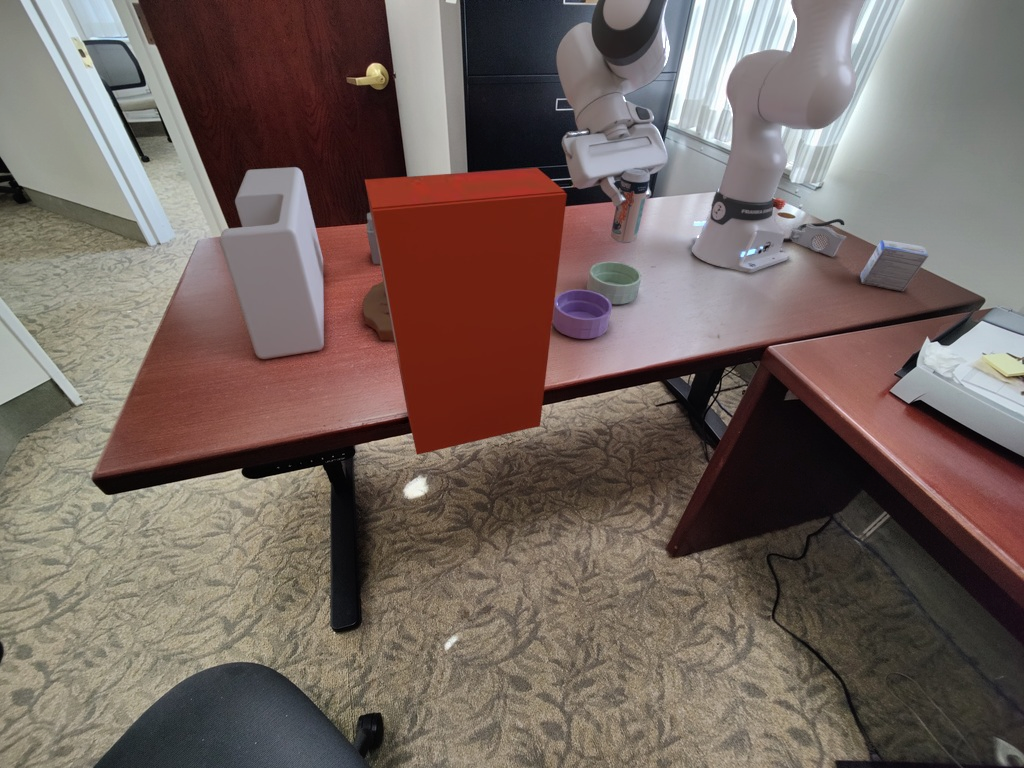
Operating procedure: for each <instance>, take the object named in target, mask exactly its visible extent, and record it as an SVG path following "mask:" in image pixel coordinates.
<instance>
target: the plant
mask: <svg viewBox="0 0 1024 768" xmlns="http://www.w3.org/2000/svg"><path fill="white" fill-rule="evenodd" d="M362 309H363V316H364V321H365V324H366V326H368V327H370V328H372V329H374V330H375V331H376V333H377V334H378V336H379V339H380V341H388V342H394V337H393V331H392V326H391V320H390V315H389V309H388V304H387V299H386V293H385V288H384V282H383V281H381V282H379V283H376V284H374V285H372V286H371V288H370V289H369V291H368V292H367V293H366V295H365V296H364V298H363V301H362Z"/></svg>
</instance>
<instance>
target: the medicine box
mask: <svg viewBox="0 0 1024 768" xmlns="http://www.w3.org/2000/svg"><path fill="white" fill-rule="evenodd" d="M928 258H929V253H928V251H927V250H926V248H925V246H921V245H916V244H909V243H904V242H899V241H898V242H897V241H893V240H892V241H891V240H885V239H881V240H880V242H879V244H877V247H876V248H875V250H874V251H873V253H872V255H871V256H870V258H869V259H868V261H867V262H866V264H865V266H864V268H863V269H862V270H861V272H860V274H859V277H860V281H861V284H863V285H867V286H871V287H877V288H883V289H887V290H893V291H898V292H904V291H905V290H906V288H907V287H908V286H909V284H910V283H911V281H912V280H913V279H914V277H915V275H916V274H917V273H918V272H919V270H920V269H921V267H922V266H923V265H924V263H925V261H926V260H927V259H928Z"/></svg>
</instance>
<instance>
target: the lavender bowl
mask: <svg viewBox="0 0 1024 768" xmlns="http://www.w3.org/2000/svg"><path fill="white" fill-rule="evenodd" d="M612 309H613V304H611V302H610V301H609V300H608V299H607V298H606V297H604V296H603V295H601V294H599V293H596V292H593V291H589V290H587V289H577V288H575V289H569V290H564V291H562V292H560V293H559V294H558V295H556V296H555V301H554V309H553V318H552V326H553V327H554V328H555V329H556V330H557V331H558V332H560V334H562V335H565V336H567V337H570V338H575V339H578V340H579V339H580V340H583V339H586V340H587V339H589V340H590V339H594V338H598V337H601V336H602V335H604V334H605V333H606V332H607V331H608V329H609V323H610V319H611V314H612Z"/></svg>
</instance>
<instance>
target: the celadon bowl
mask: <svg viewBox="0 0 1024 768" xmlns="http://www.w3.org/2000/svg"><path fill="white" fill-rule="evenodd" d="M641 282H642V273H641V271H639V270H638V269H637V268H636V267H634V266H633V265H630V264H627V263H623V262H618V261H602V262H597V263H595V264H593V265H592V266H591V267H590V268H589V271H588V277H587V283H586V284H587V285H586V290H589V291H593V292H596V293H599V294H601V295H603V296H604V297H606V298H607V299H608V300H609V301H610V302H611V305H623V304H628V303H631V302H634V300H635V299H636V298H637V297H638V293H639V290H640V286H641Z"/></svg>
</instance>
